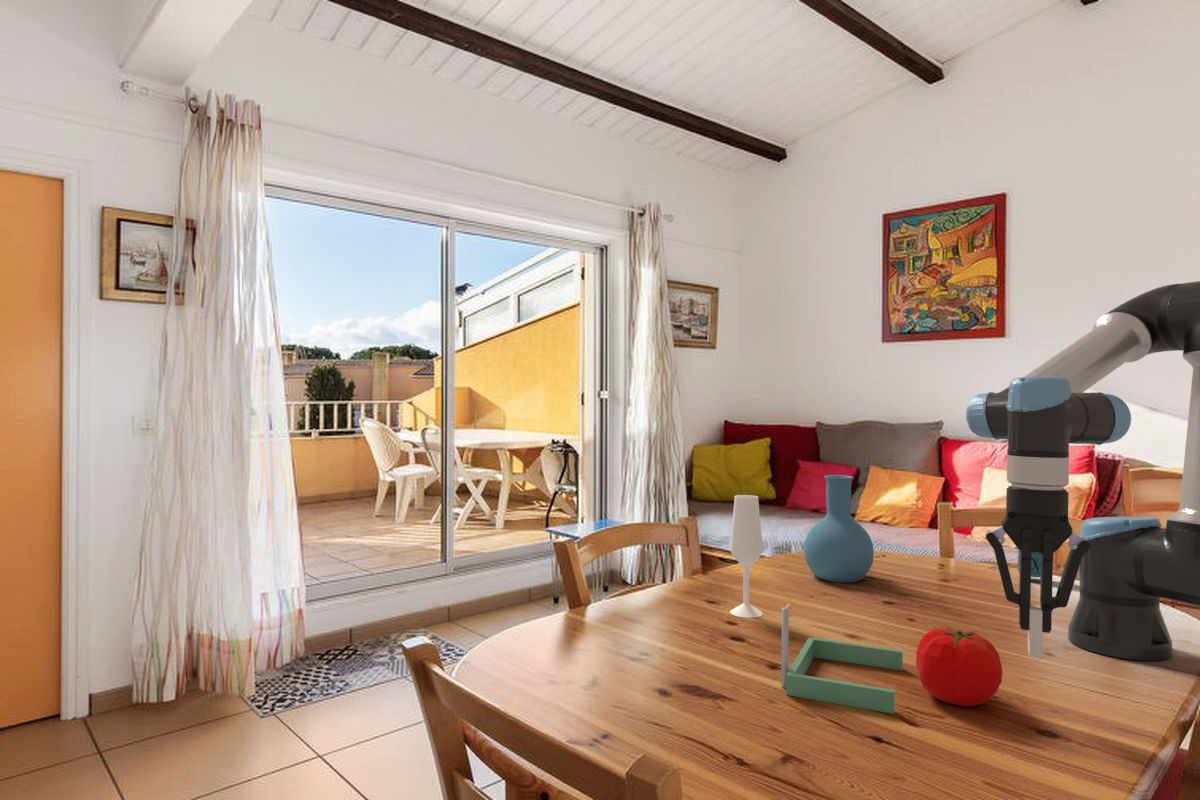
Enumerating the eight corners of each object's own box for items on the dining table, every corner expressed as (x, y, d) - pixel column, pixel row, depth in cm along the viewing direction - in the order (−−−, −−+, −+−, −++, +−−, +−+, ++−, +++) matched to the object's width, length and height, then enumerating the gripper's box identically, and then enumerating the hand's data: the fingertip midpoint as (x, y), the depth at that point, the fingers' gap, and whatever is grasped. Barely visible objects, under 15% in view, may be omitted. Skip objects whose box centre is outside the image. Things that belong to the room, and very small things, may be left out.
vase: (880, 575, 182) (880, 475, 182) (866, 589, 168) (866, 481, 168) (814, 567, 191) (814, 471, 191) (795, 580, 177) (795, 477, 177)
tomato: (896, 689, 111) (897, 622, 111) (954, 679, 115) (954, 614, 115) (961, 722, 100) (961, 647, 99) (1022, 709, 104) (1022, 637, 104)
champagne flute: (728, 616, 148) (728, 498, 148) (730, 607, 154) (730, 493, 154) (762, 618, 146) (762, 499, 146) (763, 609, 153) (763, 494, 153)
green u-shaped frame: (902, 668, 119) (903, 595, 119) (894, 713, 102) (894, 628, 102) (801, 653, 126) (801, 584, 126) (777, 693, 109) (777, 613, 109)
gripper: (1087, 486, 103) (1085, 653, 103) (983, 481, 109) (981, 638, 109) (1097, 492, 96) (1094, 670, 96) (985, 485, 102) (983, 654, 102)
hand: (1034, 653), depth 103 cm, fingers closed
